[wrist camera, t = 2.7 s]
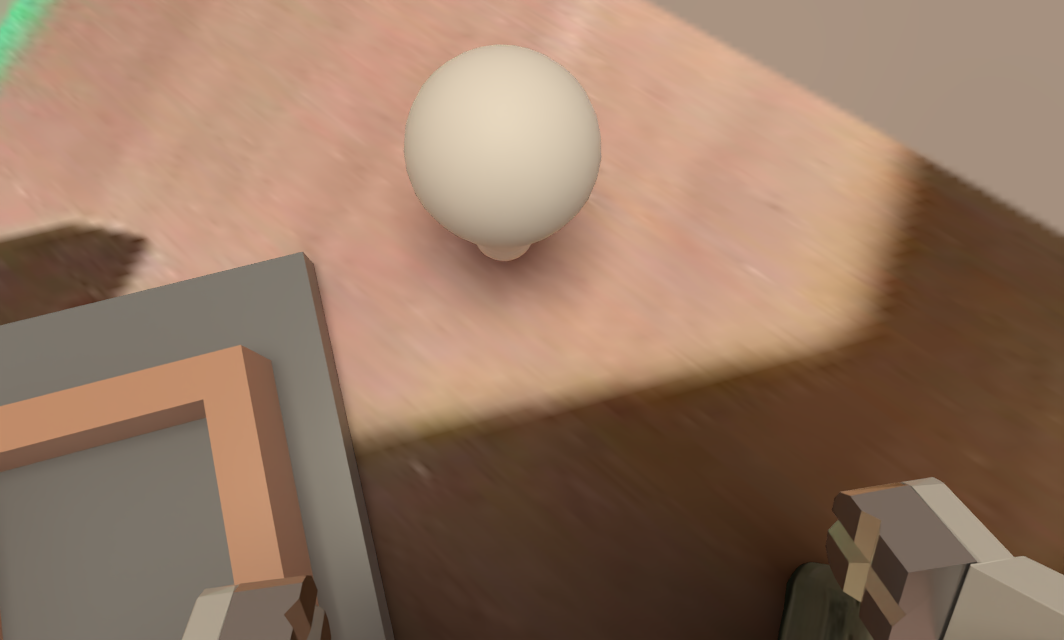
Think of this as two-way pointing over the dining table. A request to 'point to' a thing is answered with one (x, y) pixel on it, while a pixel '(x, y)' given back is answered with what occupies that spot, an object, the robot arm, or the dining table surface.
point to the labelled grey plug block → (819, 608)
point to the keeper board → (179, 460)
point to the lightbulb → (502, 148)
